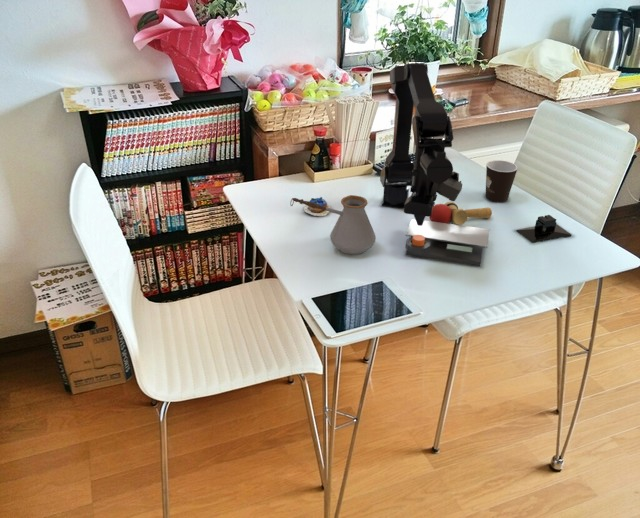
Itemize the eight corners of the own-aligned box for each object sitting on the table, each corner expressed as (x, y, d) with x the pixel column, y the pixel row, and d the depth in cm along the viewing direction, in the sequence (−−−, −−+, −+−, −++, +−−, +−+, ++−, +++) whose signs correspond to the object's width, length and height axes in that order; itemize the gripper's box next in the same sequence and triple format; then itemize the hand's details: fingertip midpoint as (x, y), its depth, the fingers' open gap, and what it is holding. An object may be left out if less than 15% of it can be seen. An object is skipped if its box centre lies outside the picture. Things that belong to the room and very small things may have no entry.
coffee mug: (512, 205, 171) (518, 173, 165) (481, 202, 172) (487, 170, 167) (509, 188, 180) (515, 157, 175) (480, 186, 182) (485, 155, 176)
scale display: (446, 249, 144) (446, 248, 143) (447, 244, 145) (447, 243, 145) (471, 252, 142) (471, 252, 142) (472, 248, 144) (472, 247, 144)
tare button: (411, 245, 145) (411, 239, 145) (413, 239, 148) (413, 233, 147) (423, 247, 145) (424, 241, 144) (425, 241, 147) (425, 235, 146)
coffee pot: (368, 233, 156) (371, 181, 148) (380, 256, 146) (384, 201, 138) (288, 241, 152) (286, 187, 144) (295, 264, 143) (293, 209, 135)
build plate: (554, 224, 161) (558, 208, 159) (572, 236, 155) (576, 221, 153) (515, 230, 158) (519, 215, 155) (532, 244, 152) (536, 228, 149)
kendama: (477, 214, 168) (421, 215, 162) (485, 195, 164) (428, 196, 158) (490, 231, 163) (433, 232, 157) (499, 212, 159) (440, 213, 153)
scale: (403, 257, 146) (404, 246, 144) (412, 229, 158) (413, 219, 157) (479, 269, 142) (481, 258, 140) (483, 239, 154) (485, 229, 152)
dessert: (326, 216, 162) (314, 198, 161) (307, 225, 166) (296, 207, 165) (336, 206, 169) (325, 188, 168) (318, 215, 172) (307, 198, 171)
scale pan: (405, 235, 149) (405, 234, 149) (411, 219, 156) (411, 218, 156) (487, 247, 144) (487, 246, 144) (489, 230, 152) (489, 229, 151)
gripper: (458, 185, 126) (449, 248, 134) (465, 154, 141) (457, 212, 149) (406, 179, 129) (400, 241, 137) (419, 149, 144) (413, 206, 152)
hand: (420, 225), depth 144 cm, fingers closed
